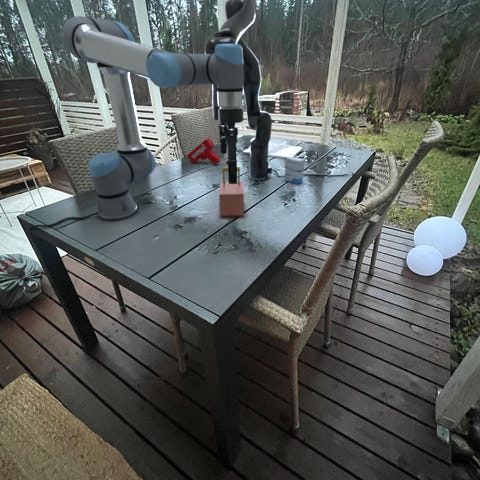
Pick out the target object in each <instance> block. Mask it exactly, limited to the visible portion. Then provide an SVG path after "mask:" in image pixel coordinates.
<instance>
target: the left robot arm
mask: <svg viewBox="0 0 480 480" xmlns="http://www.w3.org/2000/svg"><path fill="white" fill-rule="evenodd" d="M61 31H62V32H61V34H62V35H61V36H62V40H63V43H64V46H65V47H66V48H67V51H68V52H69V53H70V54H71V55H72V56H73V57H75V58H76V59H78V60H80V61H82V62H86V63H89V64H96V68H97V70H99V72H101V73H102V74H103V77H104V82H105V86H106V90H107V95H108V99H109V104H110V107H111V112H112V116H113V119H114V124H115V128H116V134H117V138H118V141H119V144H118V145H117V146H116V151H117V152H114V151H110V152H109V151H108V152H105V153H103V152H102V153H99V154H97V155H95V156H93V157H92V158H90V160H89V161H88V169H89V175H90V176H91V179H92V182H93V185H94V189H95V192H96V195H97V197H98V198H97V212H94V213H91V214H88V215H85V216H80V217H79V216H78V217H77V216H69V217H65V218H62V219H60V220H58V221H56V222H54V223H51V224H34V225H32V226H30V227H29V228H28V231H31V230H33V229H34V228H39V227H40V228H49V227H54V226H56V225H58V224H60V223H63V222H65V221H67V220H83V219H84V220H85V219H87V218H90V217H93V216H96V215H98V217H99V218H100V219H101V220H104V221H120V220H124V219H127V218H129V217H132V216H133V215H135V214H136V213H137V212H138V206H137V203H136V202H137V198H136V197H135V196H132V195H131V194H130V192H129V187H128V184H131V183H133V182H135V181H139V180H141V179H144V178H146V177H148V176H150V175H152V174H153V173H154V171H155V169H156V158H155V155H154V154H153V152H152V150H151V149H149V148H148V146H147V144H146V143H145V142H143V140H142V135H141V129H140V125H139V124H140V123H139V120H138V119H139V118H138V114H137V107H136V104H135V98H134V93H133V87H132V82H131V77H130V74H134V75H137V76H139V77H143V78H145V79H148V80H150V81H151V82H152V84H153V85H154V86H156V87H158V88H167V89H169V88H170V89H171V88H174V87H175V88H176V87H185V86H196V85H197V86H198V85H212V84H217V96H218V106H219V107H220V108H219V110H218V112H219V120H218V122H219V123H220V122H221V123H227V128H225V135H226V143H227V160H226V161H225V165H227V167H228V171H227V174H228V175H227V176H228V182H229V184H237V182H238V171H237V167H238V159H237V157H238V156H237V151H238V147H237V143H238V135H239V129H238V126H237V127H236V124H240V123H243V121H244V108H243V106H244V99H245V95H244V93H243V65H244V63H243V49H242V47H241V45H239V44H218V45H216V48H215V53H214V54H205V53H183V52H182V53H180V52H171V51H167V50H164V49H160V48H156V47H153V46H149V45H146V44H142V43H140V42H137V41H135V39H134V36H133V34H132V33H131V31H130V30H129V29H128V28H127V26H126V25H124V24H123V23H122V22H120V21H115V20H112V19H105V18H104V19H103V18H98V17H97V18H95V17H89V16H81V15H79V16H77V15H76V16H72V17H70V18H68V19H67V20H66V21H65V23H64V24H63V26H62V30H61Z"/></svg>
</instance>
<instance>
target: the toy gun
mask: <svg viewBox="0 0 480 480" xmlns="http://www.w3.org/2000/svg"><path fill="white" fill-rule="evenodd" d="M213 148H215V143H214V142H212V140H211V138H209V137H208V138H205V139H204V140H203V141H201V143H199V144H198V145H196V147H195V148H194V149H193V150H191V151H190V152H189V153H188V154H187V155H186V157H187V159H188V160H189V161H190V162H191V163H192V164H194V163H197V162H198V161H199V160H200V159H201V160H202V161H205V160H209V161H210V162H211V163H212V165H213V166H215V165H217V164H219V163H220V160H221V156H220V155H218V154H217V153H216V152H214V151H213Z"/></svg>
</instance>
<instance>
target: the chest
mask: <svg viewBox="0 0 480 480" xmlns="http://www.w3.org/2000/svg"><path fill="white" fill-rule="evenodd" d="M244 211H245V195H244V196H243V197H219V216H220V217H219V218H244V217H245V215H244V214H245V212H244Z"/></svg>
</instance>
